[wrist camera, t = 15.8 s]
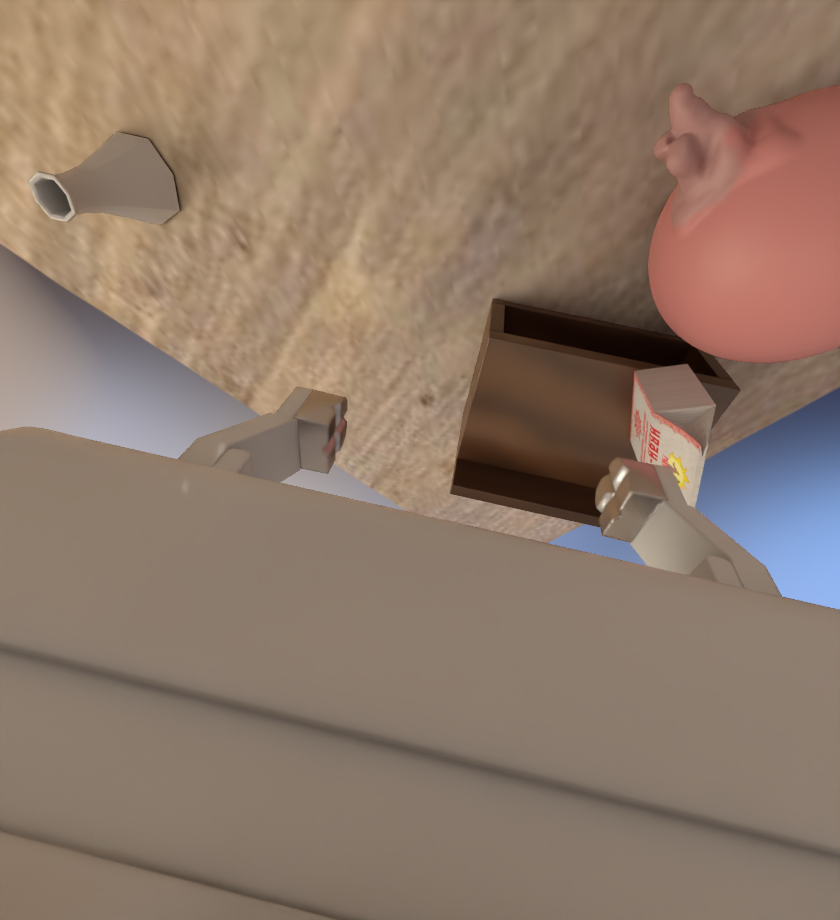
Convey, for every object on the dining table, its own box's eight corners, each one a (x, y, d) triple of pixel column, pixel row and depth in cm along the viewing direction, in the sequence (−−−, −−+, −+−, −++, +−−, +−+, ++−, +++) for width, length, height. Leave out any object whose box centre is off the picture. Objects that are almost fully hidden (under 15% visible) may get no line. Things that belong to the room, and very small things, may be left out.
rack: (492, 298, 40) (486, 359, 30) (701, 341, 39) (764, 418, 30) (462, 417, 49) (450, 493, 39) (631, 453, 49) (662, 541, 39)
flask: (194, 219, 40) (120, 244, 33) (132, 229, 42) (47, 256, 34) (153, 123, 36) (56, 127, 28) (85, 139, 37) (-24, 146, 30)
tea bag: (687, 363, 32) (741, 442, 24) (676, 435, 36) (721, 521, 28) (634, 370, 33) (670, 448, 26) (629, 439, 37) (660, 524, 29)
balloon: (765, -49, 25) (988, -190, 13) (899, 209, 31) (1130, 267, 20) (553, 183, 34) (575, 222, 22) (691, 348, 40) (764, 446, 28)
